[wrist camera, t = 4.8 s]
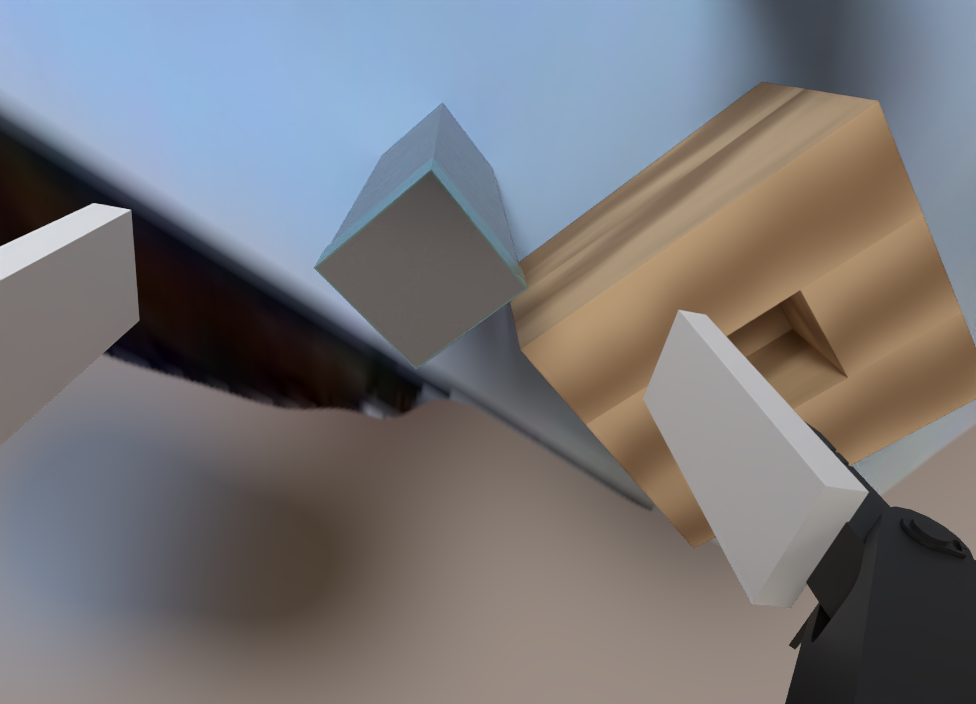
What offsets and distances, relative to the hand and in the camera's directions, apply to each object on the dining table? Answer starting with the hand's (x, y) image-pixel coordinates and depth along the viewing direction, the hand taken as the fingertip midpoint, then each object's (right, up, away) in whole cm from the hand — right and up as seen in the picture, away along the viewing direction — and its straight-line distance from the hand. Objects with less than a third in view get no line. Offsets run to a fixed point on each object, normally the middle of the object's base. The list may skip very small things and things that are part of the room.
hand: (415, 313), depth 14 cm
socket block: (+14, +3, +20) cm, 24 cm away
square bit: (-1, +9, +16) cm, 18 cm away
